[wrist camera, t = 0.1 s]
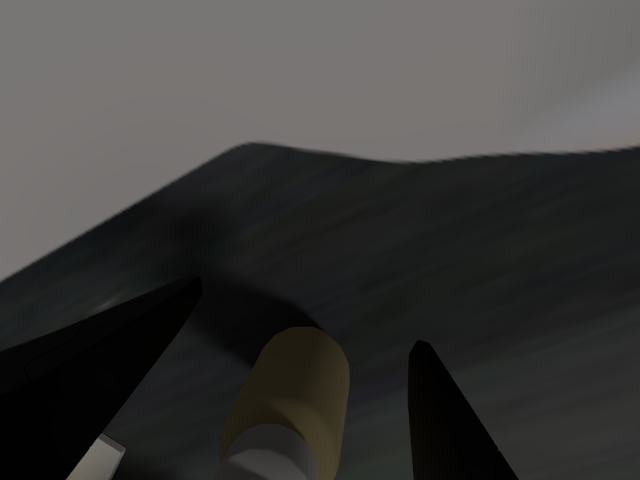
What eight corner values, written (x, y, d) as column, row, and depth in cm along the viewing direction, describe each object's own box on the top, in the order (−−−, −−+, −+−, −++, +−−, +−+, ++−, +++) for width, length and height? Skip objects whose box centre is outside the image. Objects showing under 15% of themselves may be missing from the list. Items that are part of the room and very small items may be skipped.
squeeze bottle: (263, 386, 25) (60, 742, 7) (276, 307, 25) (107, 461, 7) (342, 403, 24) (339, 856, 6) (355, 322, 24) (388, 538, 6)
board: (126, 448, 26) (121, 453, 26) (93, 517, 26) (87, 523, 26) (-32, 348, 28) (-40, 350, 28) (-62, 412, 28) (-70, 416, 28)
